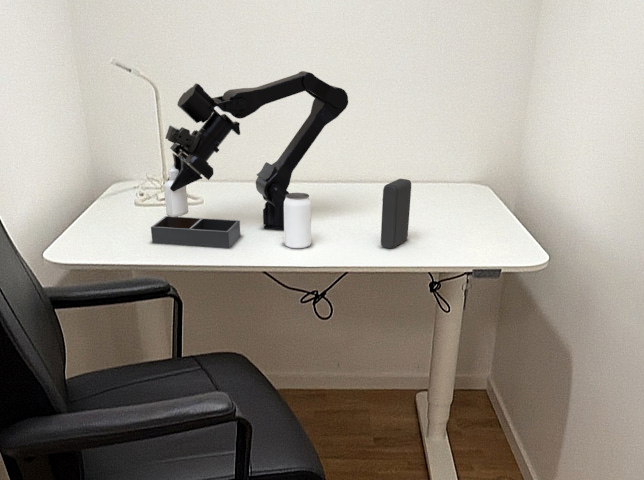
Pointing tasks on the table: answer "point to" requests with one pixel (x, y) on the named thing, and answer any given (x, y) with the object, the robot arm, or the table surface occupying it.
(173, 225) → the divided tray
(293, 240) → the can
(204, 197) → the table surface
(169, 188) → the eye dropper bottle
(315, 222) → the table surface
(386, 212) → the dark grey upright block
